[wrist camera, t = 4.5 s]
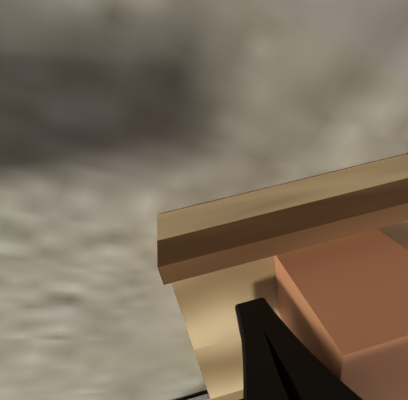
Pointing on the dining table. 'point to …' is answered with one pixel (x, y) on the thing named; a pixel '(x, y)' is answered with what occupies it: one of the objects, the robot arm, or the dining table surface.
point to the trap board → (265, 250)
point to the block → (351, 310)
